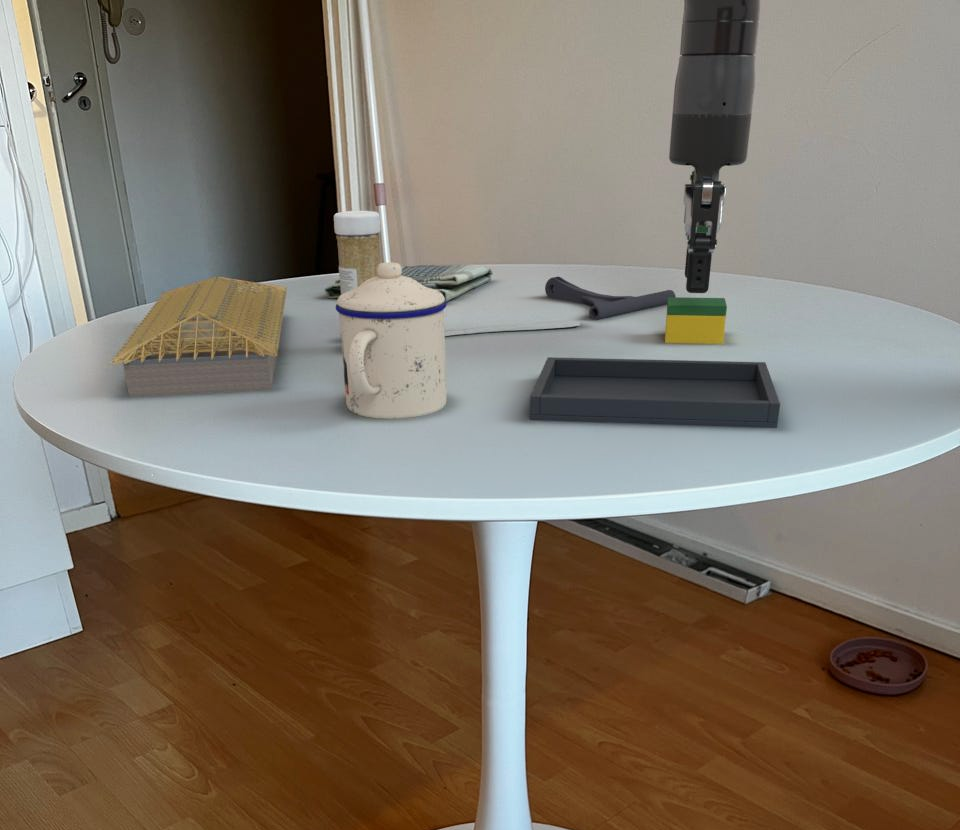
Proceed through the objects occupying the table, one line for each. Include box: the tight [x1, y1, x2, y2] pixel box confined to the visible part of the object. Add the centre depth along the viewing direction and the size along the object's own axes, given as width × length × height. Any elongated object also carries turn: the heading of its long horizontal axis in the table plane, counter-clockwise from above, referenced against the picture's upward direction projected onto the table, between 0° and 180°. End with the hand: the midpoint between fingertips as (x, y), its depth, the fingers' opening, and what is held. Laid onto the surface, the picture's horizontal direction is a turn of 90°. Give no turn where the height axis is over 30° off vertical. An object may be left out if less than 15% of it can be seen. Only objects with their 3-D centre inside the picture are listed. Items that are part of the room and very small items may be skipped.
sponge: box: [664, 296, 728, 345], centre depth 107 cm, size 6×4×4 cm
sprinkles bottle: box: [333, 210, 382, 295], centre depth 102 cm, size 5×5×14 cm
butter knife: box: [444, 320, 581, 337], centre depth 111 cm, size 1×27×3 cm
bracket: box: [544, 276, 676, 321], centre depth 125 cm, size 14×15×3 cm
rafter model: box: [109, 276, 288, 398], centre depth 104 cm, size 35×14×6 cm, turn 8°
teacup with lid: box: [335, 262, 448, 420], centre depth 83 cm, size 12×9×12 cm
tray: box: [529, 356, 781, 429], centre depth 86 cm, size 20×14×2 cm
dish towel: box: [324, 263, 493, 302], centre depth 136 cm, size 19×18×3 cm
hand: (695, 285), depth 105 cm, fingers open, 8 cm apart
